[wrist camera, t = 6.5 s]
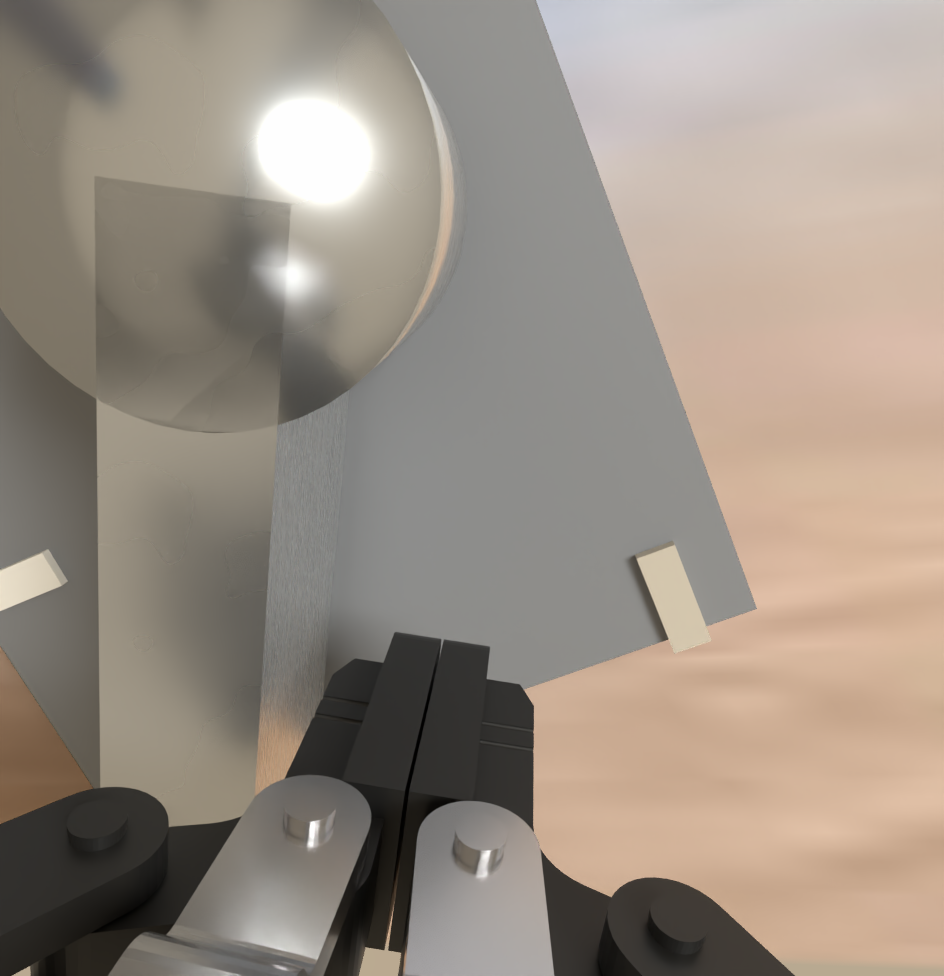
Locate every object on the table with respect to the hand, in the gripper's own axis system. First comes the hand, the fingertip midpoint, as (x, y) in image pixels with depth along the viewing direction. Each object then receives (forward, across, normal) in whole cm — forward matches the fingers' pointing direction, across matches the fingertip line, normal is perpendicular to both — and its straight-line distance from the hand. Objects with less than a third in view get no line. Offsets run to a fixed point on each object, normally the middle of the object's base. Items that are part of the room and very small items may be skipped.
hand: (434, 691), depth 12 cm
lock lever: (+2, +3, -3) cm, 5 cm away
